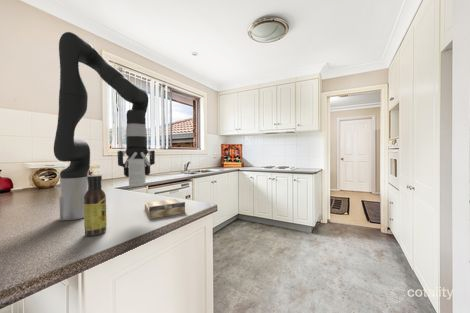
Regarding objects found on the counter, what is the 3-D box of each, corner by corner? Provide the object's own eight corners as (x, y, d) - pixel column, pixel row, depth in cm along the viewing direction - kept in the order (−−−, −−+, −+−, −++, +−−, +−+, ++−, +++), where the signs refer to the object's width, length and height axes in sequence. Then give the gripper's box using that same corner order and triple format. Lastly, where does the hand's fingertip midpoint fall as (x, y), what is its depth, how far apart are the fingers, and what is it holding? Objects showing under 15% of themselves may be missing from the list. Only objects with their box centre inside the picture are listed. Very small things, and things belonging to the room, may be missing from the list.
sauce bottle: (106, 234, 68) (105, 175, 67) (83, 238, 65) (82, 177, 64) (106, 228, 73) (105, 174, 73) (85, 231, 70) (83, 175, 69)
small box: (131, 183, 85) (130, 158, 85) (145, 182, 87) (145, 158, 87) (128, 186, 78) (127, 159, 77) (144, 185, 80) (143, 158, 79)
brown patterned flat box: (149, 218, 83) (149, 207, 83) (144, 209, 97) (144, 199, 97) (185, 212, 91) (185, 202, 91) (176, 204, 105) (175, 195, 105)
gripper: (150, 137, 90) (151, 173, 90) (114, 135, 79) (115, 176, 80) (157, 136, 84) (158, 175, 85) (119, 134, 74) (121, 178, 75)
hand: (137, 175), depth 82 cm, fingers closed on small box, 7 cm apart
